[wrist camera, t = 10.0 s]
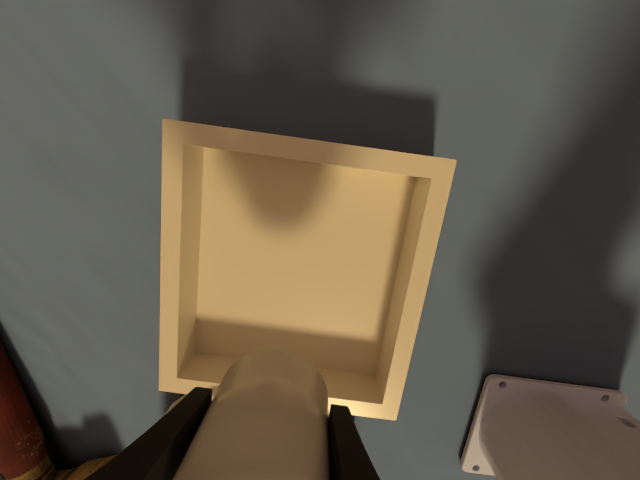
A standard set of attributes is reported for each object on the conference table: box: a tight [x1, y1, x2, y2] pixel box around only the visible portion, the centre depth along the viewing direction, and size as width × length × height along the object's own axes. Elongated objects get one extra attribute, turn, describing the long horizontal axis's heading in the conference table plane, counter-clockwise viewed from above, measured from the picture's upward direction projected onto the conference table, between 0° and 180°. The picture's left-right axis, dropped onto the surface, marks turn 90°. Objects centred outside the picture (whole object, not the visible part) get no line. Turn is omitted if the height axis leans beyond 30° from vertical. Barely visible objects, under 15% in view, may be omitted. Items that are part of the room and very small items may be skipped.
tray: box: [159, 119, 457, 421], centre depth 17 cm, size 14×15×3 cm
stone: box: [173, 350, 329, 480], centre depth 10 cm, size 4×4×4 cm
